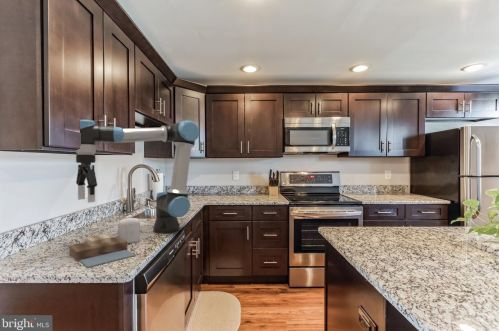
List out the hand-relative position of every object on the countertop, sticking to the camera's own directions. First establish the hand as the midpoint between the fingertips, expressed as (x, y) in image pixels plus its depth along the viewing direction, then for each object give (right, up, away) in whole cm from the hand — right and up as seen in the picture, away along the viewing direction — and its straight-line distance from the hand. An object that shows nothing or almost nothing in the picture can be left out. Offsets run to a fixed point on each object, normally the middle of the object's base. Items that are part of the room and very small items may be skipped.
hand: (86, 200), depth 120 cm
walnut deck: (+7, -23, -2) cm, 24 cm away
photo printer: (+14, -23, +13) cm, 30 cm away
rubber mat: (+15, -23, -9) cm, 29 cm away
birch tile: (+6, -19, -1) cm, 20 cm away
